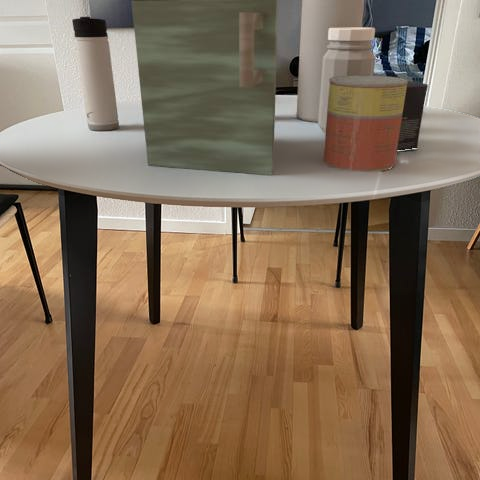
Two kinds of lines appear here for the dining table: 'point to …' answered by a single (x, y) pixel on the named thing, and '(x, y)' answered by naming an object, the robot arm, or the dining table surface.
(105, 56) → the travel mug
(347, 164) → the canned food
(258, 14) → the door
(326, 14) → the cylinder vase
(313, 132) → the dining table surface
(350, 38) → the jar
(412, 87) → the small box
